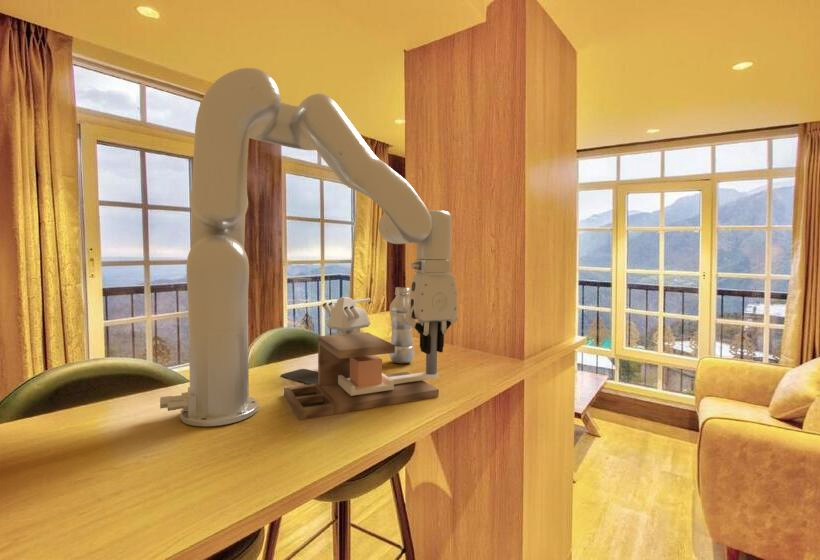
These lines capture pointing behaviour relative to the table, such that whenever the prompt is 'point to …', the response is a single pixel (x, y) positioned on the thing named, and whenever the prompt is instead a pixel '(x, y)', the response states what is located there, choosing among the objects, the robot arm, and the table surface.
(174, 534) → the table surface
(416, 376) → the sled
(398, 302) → the plastic bottle
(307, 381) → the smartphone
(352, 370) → the block
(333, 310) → the white mech figurine
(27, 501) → the table surface
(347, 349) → the desk organizer
